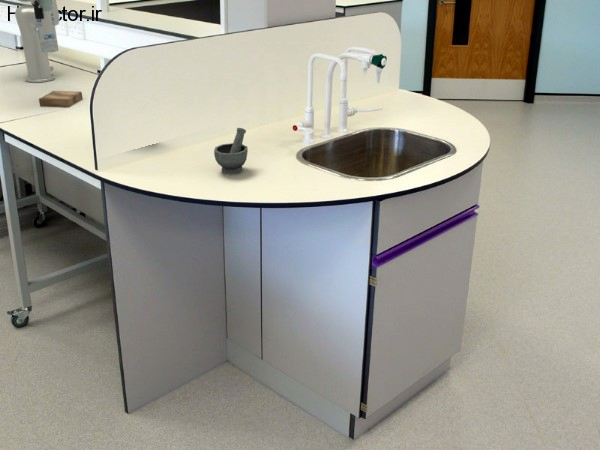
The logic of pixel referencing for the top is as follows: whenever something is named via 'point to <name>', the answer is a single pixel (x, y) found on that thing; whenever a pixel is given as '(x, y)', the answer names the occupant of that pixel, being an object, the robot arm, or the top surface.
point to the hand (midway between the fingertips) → (44, 16)
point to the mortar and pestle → (232, 154)
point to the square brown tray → (60, 99)
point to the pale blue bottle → (47, 28)
